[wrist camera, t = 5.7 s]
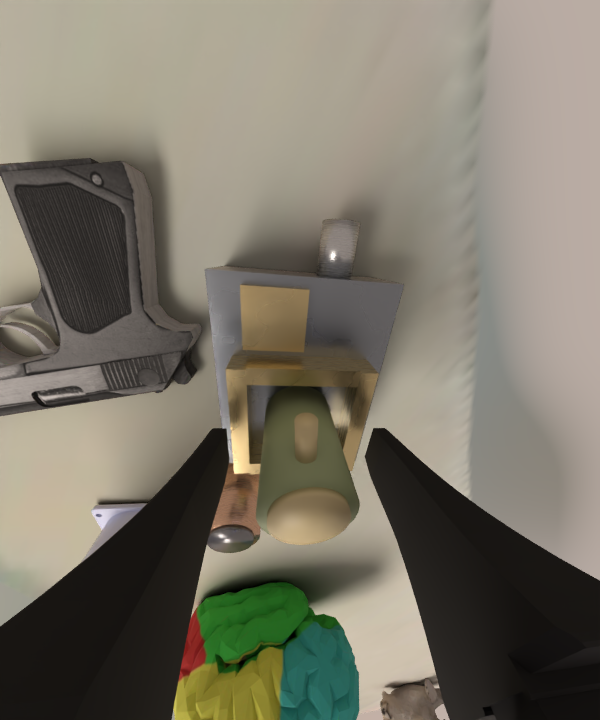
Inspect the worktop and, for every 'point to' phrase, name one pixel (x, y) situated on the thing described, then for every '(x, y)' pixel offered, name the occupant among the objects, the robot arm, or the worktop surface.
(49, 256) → the handgun
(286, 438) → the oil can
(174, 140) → the worktop surface
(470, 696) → the robot arm
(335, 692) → the brain model
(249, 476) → the copper can
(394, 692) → the animal model
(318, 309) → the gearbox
